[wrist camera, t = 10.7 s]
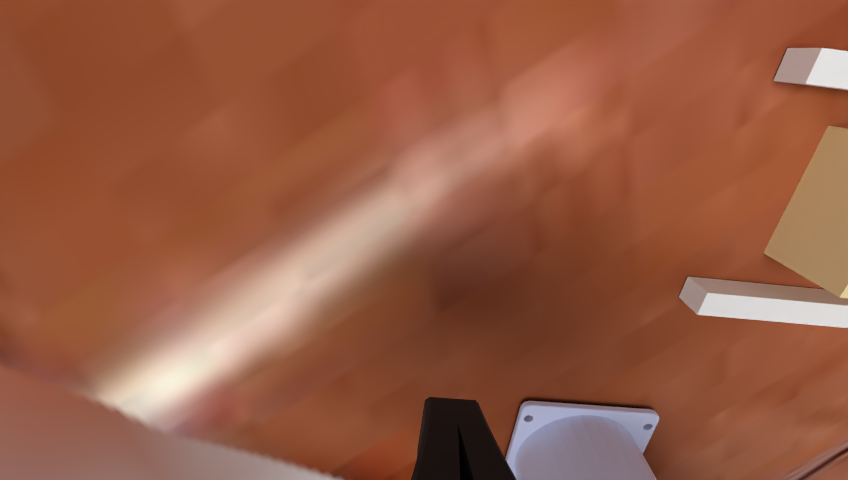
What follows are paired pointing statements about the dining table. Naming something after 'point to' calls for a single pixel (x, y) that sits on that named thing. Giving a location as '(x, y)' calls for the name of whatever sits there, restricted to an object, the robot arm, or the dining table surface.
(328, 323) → the dining table surface
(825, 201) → the block
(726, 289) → the end holder
